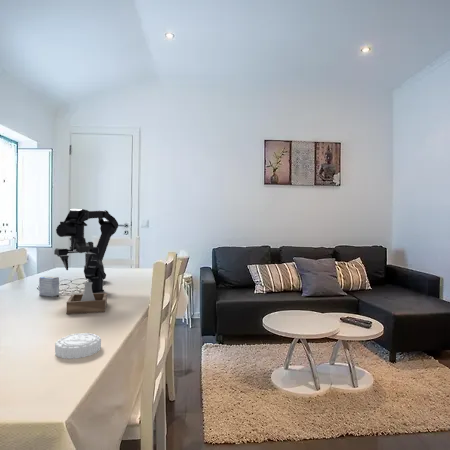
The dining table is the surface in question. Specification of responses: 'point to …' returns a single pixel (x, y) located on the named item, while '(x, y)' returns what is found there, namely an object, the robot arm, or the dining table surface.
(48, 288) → the medicine box
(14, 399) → the dining table surface
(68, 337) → the mooncake
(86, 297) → the flask
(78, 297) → the walled box
